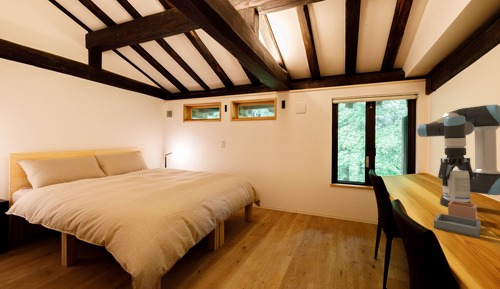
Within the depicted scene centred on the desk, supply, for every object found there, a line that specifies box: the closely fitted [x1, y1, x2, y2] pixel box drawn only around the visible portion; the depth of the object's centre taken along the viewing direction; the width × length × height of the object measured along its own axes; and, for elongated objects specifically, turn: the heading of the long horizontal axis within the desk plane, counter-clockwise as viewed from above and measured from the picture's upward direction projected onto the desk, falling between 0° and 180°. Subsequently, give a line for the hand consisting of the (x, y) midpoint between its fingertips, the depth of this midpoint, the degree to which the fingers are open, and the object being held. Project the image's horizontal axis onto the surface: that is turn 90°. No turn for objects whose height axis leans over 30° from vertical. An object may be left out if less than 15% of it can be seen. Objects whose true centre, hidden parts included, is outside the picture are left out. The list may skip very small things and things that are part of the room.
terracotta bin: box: [447, 201, 478, 220], centre depth 109 cm, size 10×10×9 cm
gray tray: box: [433, 212, 482, 239], centre depth 100 cm, size 15×15×4 cm
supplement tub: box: [441, 169, 471, 202], centre depth 100 cm, size 10×10×15 cm
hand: (456, 192), depth 100 cm, fingers closed on supplement tub, 9 cm apart
